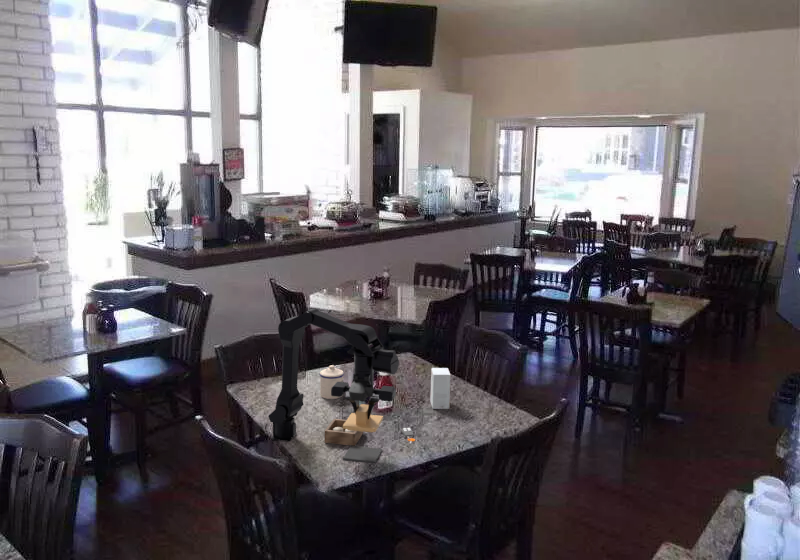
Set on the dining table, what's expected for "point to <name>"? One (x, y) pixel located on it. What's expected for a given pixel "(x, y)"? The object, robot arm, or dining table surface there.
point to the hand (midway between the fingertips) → (363, 418)
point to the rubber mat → (362, 454)
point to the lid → (362, 420)
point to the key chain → (408, 434)
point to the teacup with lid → (329, 381)
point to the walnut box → (341, 434)
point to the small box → (440, 388)
